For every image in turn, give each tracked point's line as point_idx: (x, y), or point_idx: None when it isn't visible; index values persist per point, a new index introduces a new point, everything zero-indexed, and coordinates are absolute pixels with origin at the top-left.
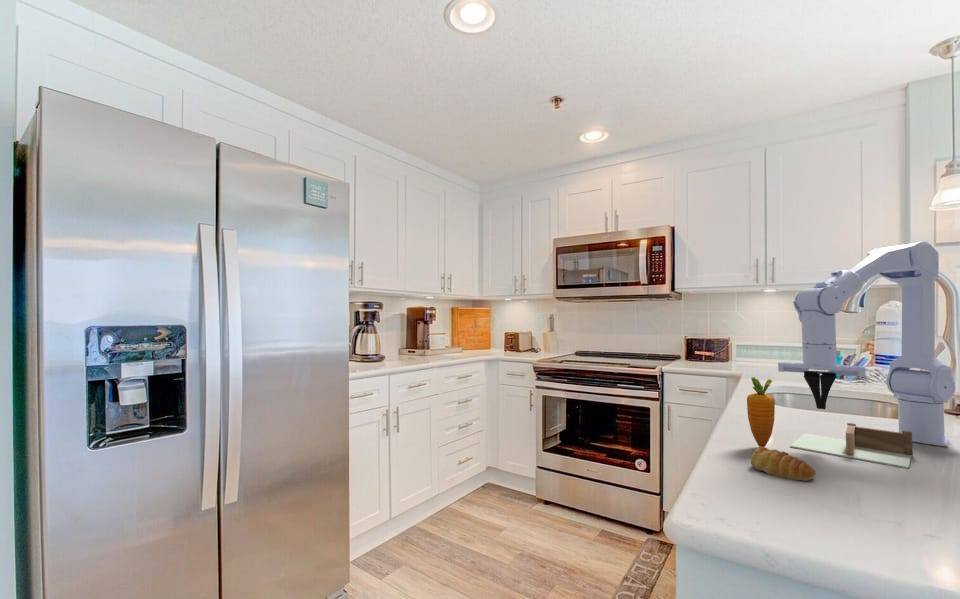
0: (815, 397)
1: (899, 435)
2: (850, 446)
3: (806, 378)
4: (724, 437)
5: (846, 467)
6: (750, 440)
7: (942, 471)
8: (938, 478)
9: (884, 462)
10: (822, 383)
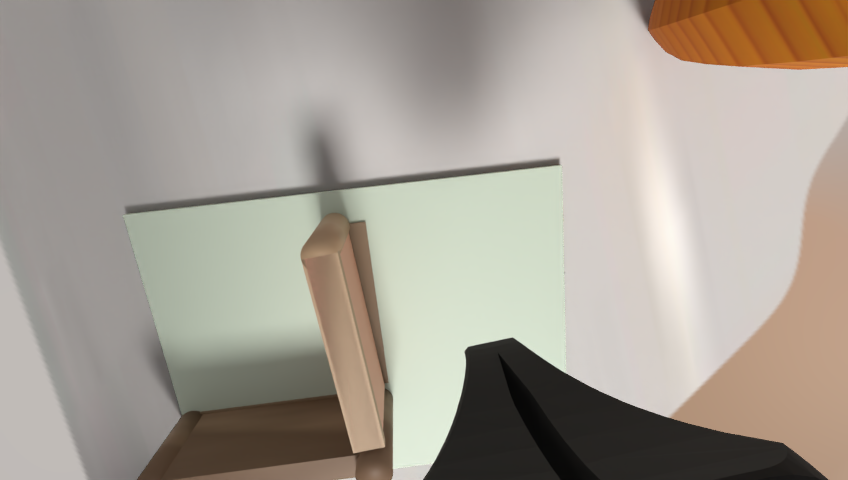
0: (549, 369)
1: (181, 471)
2: (323, 221)
3: (777, 455)
4: (842, 88)
5: (290, 3)
6: (727, 138)
7: (43, 284)
8: (10, 156)
9: (205, 210)
10: (528, 472)
